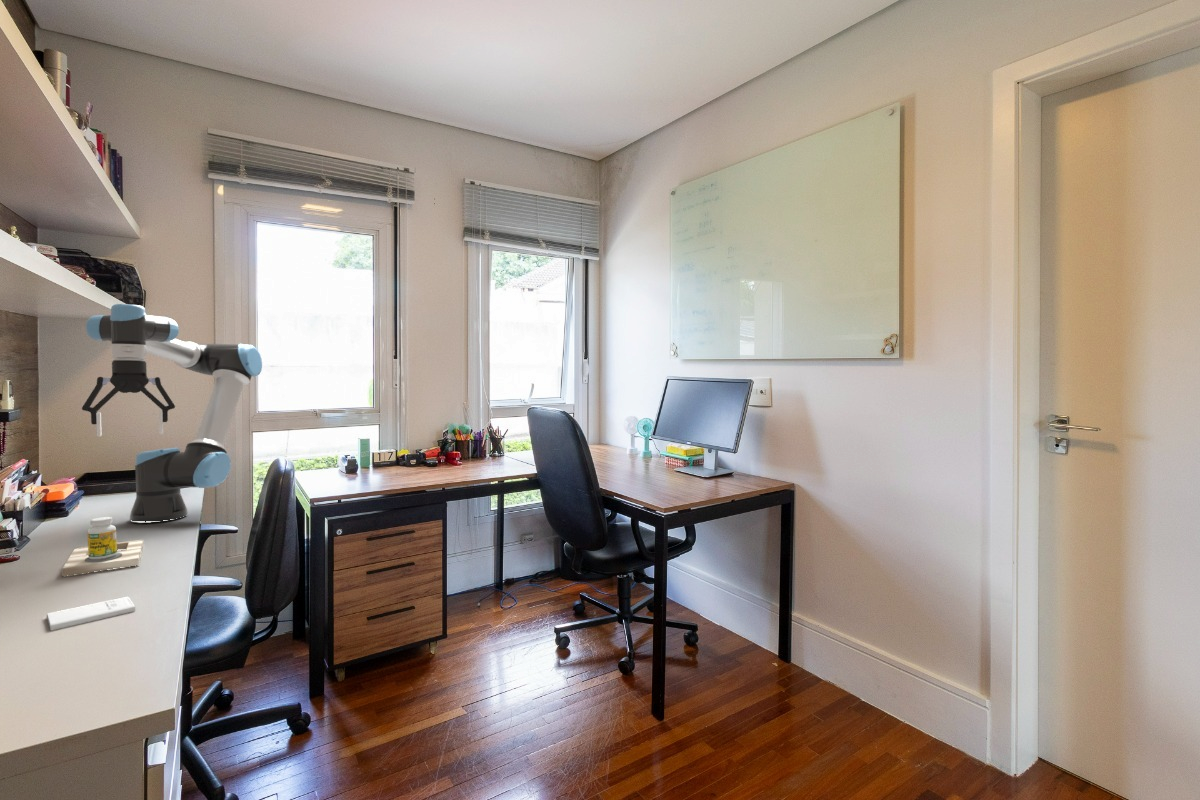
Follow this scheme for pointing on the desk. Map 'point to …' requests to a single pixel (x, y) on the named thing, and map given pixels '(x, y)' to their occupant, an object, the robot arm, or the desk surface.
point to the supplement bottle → (102, 539)
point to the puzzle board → (123, 558)
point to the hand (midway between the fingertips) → (131, 435)
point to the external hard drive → (89, 613)
